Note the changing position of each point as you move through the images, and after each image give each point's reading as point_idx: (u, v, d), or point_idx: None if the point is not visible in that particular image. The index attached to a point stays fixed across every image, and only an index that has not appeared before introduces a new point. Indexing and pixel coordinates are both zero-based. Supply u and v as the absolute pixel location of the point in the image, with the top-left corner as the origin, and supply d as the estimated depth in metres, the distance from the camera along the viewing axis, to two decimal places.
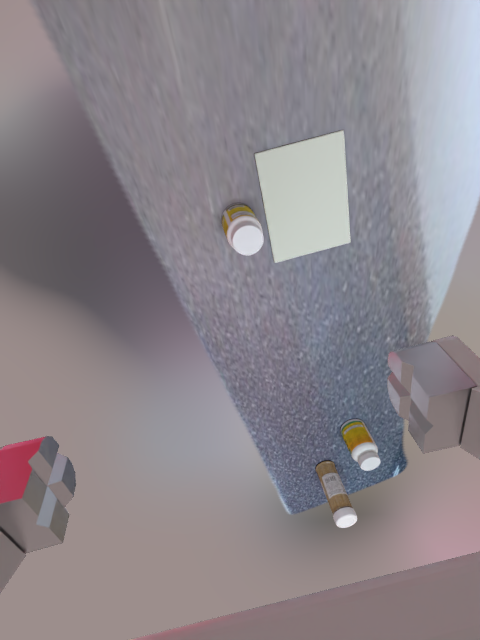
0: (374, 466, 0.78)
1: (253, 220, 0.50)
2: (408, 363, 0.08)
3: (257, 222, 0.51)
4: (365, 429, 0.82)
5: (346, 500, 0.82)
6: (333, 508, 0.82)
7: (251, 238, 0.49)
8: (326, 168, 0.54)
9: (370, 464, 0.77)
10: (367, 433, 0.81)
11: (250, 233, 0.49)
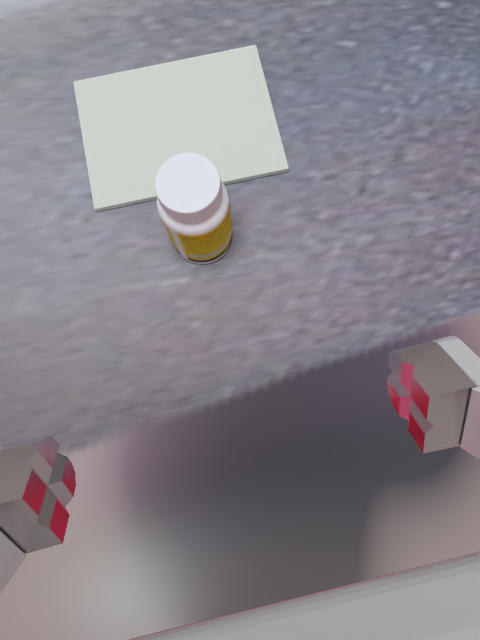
0: None
1: None
2: (408, 363, 0.08)
3: None
4: None
5: None
6: None
7: (182, 175, 0.24)
8: (125, 99, 0.34)
9: None
10: None
11: (171, 177, 0.24)
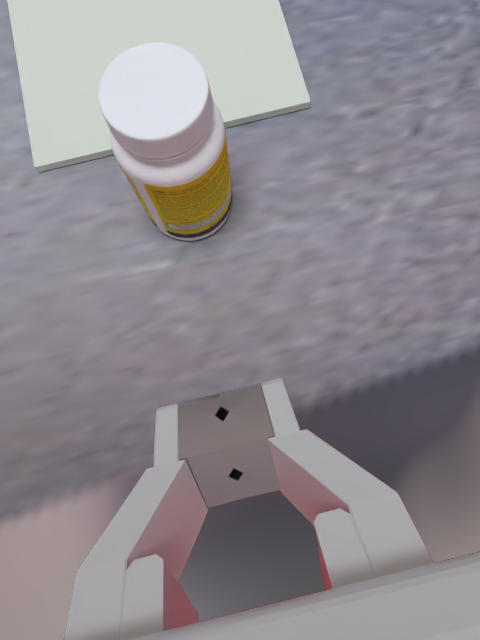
0: None
1: None
2: (225, 408, 0.08)
3: None
4: None
5: None
6: None
7: (144, 78, 0.14)
8: (78, 16, 0.24)
9: None
10: None
11: (126, 83, 0.14)
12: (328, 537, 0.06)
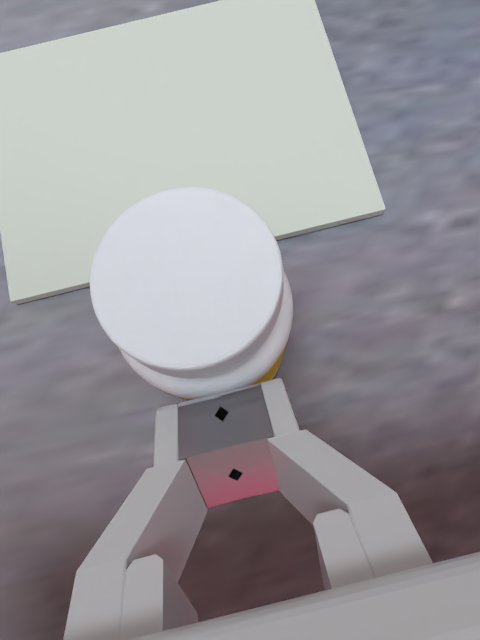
0: None
1: None
2: (225, 408, 0.08)
3: None
4: None
5: None
6: None
7: (171, 253, 0.08)
8: (71, 87, 0.18)
9: None
10: None
11: (139, 260, 0.08)
12: (327, 537, 0.06)
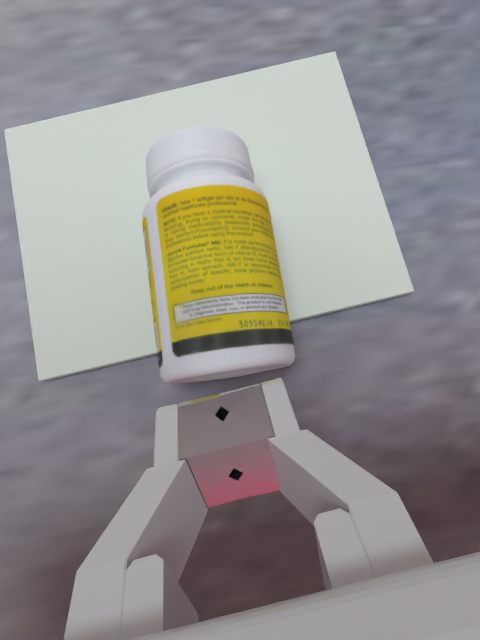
0: None
1: None
2: (225, 408, 0.08)
3: None
4: None
5: None
6: None
7: None
8: (98, 160, 0.18)
9: None
10: None
11: None
12: (328, 537, 0.06)
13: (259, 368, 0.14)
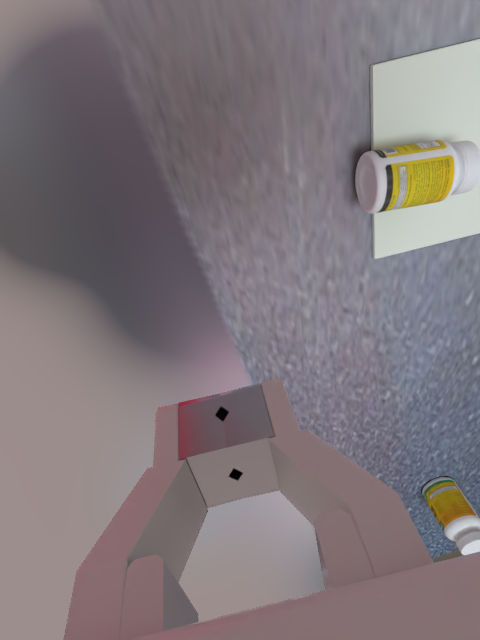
0: (479, 550, 0.55)
1: None
2: (225, 408, 0.08)
3: None
4: (461, 493, 0.59)
5: None
6: None
7: None
8: None
9: (475, 548, 0.55)
10: (465, 500, 0.58)
11: None
12: (328, 537, 0.06)
13: (363, 195, 0.33)
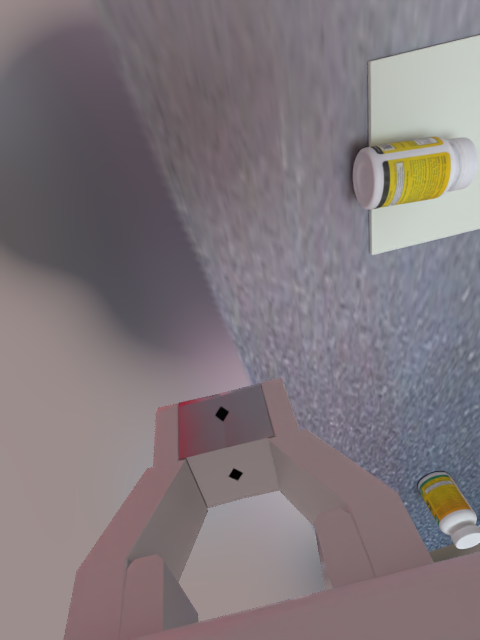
0: (473, 543, 0.56)
1: None
2: (225, 408, 0.08)
3: None
4: (456, 488, 0.60)
5: None
6: None
7: None
8: None
9: (469, 541, 0.55)
10: (460, 494, 0.59)
11: None
12: (328, 537, 0.06)
13: (360, 191, 0.33)
